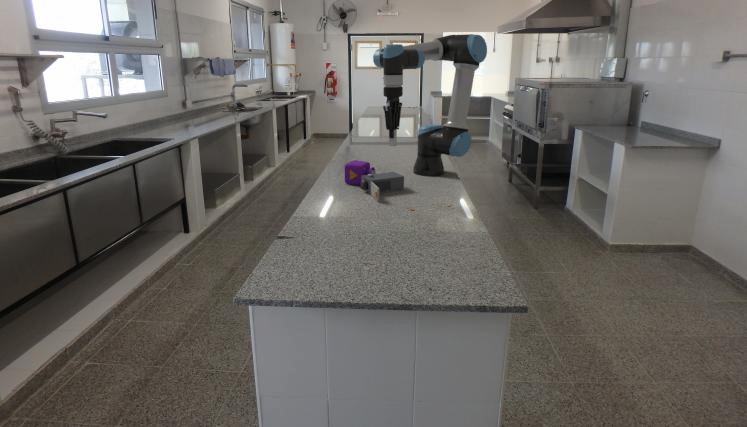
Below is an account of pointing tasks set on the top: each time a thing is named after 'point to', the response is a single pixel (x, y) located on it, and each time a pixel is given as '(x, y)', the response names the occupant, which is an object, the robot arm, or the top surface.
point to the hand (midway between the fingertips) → (392, 145)
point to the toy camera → (357, 171)
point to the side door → (374, 191)
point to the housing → (383, 182)
